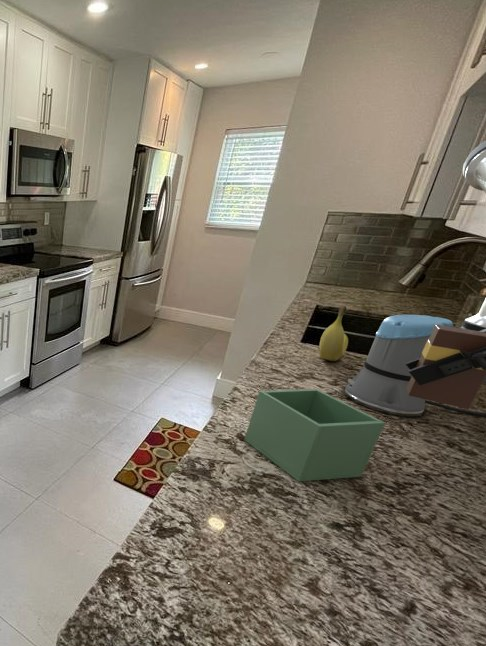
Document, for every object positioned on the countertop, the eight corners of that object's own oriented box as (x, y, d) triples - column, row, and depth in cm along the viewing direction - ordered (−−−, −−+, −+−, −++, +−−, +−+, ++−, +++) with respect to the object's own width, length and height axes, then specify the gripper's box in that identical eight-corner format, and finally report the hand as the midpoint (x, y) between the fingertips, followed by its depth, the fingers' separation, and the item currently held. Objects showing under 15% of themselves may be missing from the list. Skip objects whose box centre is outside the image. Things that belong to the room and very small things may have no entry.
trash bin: (299, 436, 90) (316, 388, 86) (361, 476, 78) (385, 422, 73) (244, 439, 88) (259, 390, 84) (298, 481, 76) (319, 426, 71)
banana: (326, 350, 144) (346, 294, 137) (347, 355, 140) (369, 298, 133) (309, 364, 131) (330, 304, 124) (331, 370, 127) (355, 308, 119)
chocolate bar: (405, 388, 73) (434, 324, 68) (464, 401, 68) (499, 334, 64) (408, 395, 70) (438, 329, 66) (468, 409, 66) (506, 339, 62)
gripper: (587, 267, 61) (392, 343, 77) (648, 283, 49) (402, 369, 65) (626, 308, 60) (420, 377, 76) (698, 335, 48) (435, 410, 64)
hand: (412, 373), depth 70 cm, fingers closed on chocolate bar, 4 cm apart
